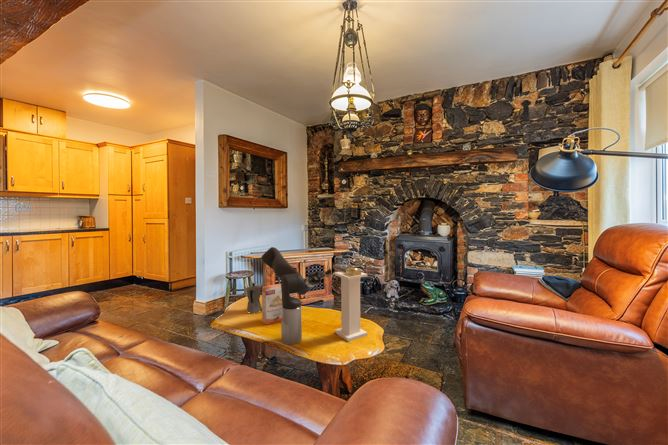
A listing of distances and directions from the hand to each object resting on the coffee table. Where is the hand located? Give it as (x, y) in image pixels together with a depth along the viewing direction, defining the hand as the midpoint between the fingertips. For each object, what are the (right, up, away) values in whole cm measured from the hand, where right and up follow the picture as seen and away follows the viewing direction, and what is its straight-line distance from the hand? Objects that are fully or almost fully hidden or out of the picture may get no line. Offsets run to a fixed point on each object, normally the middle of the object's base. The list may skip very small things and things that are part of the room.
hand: (324, 271), depth 168 cm
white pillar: (+14, -29, -18) cm, 37 cm away
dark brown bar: (+12, +3, -17) cm, 21 cm away
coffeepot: (-45, -28, +13) cm, 55 cm away
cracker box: (-29, -29, -1) cm, 40 cm away
